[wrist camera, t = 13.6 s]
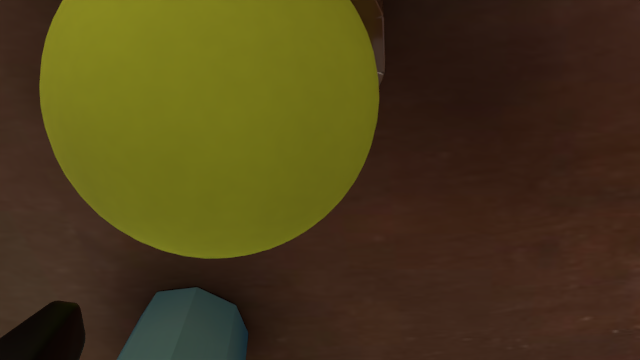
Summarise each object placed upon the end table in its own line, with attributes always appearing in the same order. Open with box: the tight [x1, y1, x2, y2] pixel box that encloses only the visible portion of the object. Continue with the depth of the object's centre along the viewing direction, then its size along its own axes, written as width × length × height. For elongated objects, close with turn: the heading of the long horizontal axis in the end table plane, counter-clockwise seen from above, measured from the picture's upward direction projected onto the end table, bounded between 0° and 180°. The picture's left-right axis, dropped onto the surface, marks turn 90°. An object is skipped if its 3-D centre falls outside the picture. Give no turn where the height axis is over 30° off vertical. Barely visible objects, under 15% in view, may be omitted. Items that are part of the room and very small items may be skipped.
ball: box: [39, 0, 379, 258], centre depth 12 cm, size 7×7×7 cm
